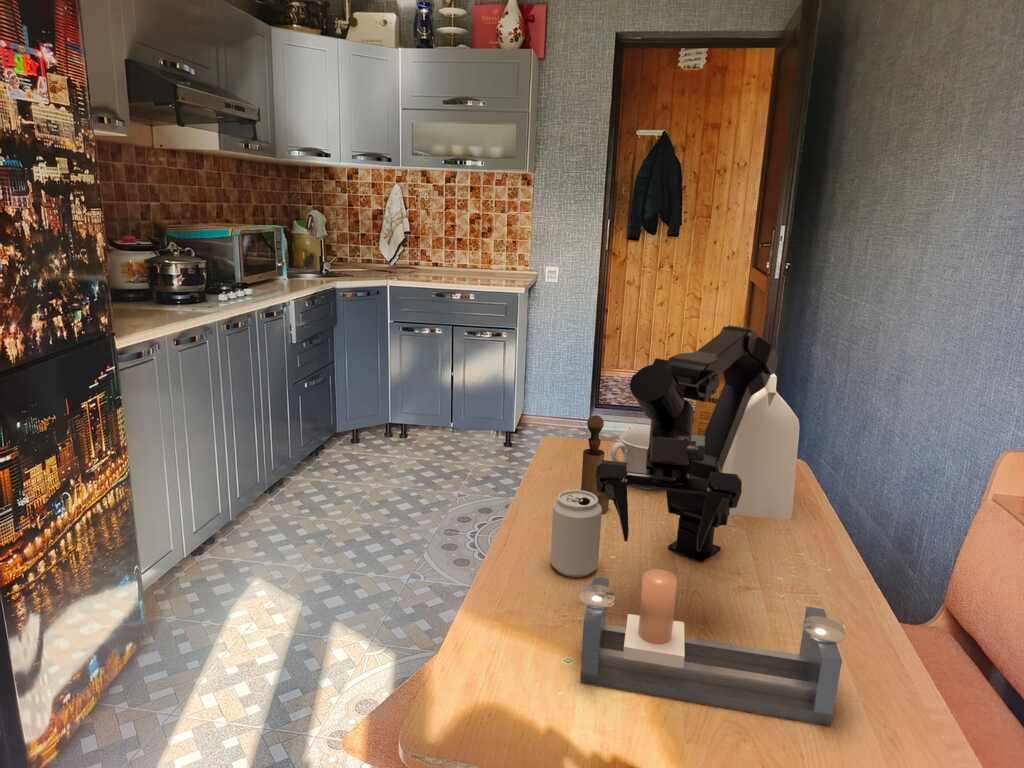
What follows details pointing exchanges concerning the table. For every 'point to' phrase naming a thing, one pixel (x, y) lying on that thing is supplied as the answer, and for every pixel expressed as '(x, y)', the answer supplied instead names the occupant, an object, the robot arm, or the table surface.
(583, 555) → the can
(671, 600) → the carriage
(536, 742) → the table surface
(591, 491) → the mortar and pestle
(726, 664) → the rail
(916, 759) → the table surface
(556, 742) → the table surface
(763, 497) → the milk
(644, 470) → the teacup
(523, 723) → the table surface
